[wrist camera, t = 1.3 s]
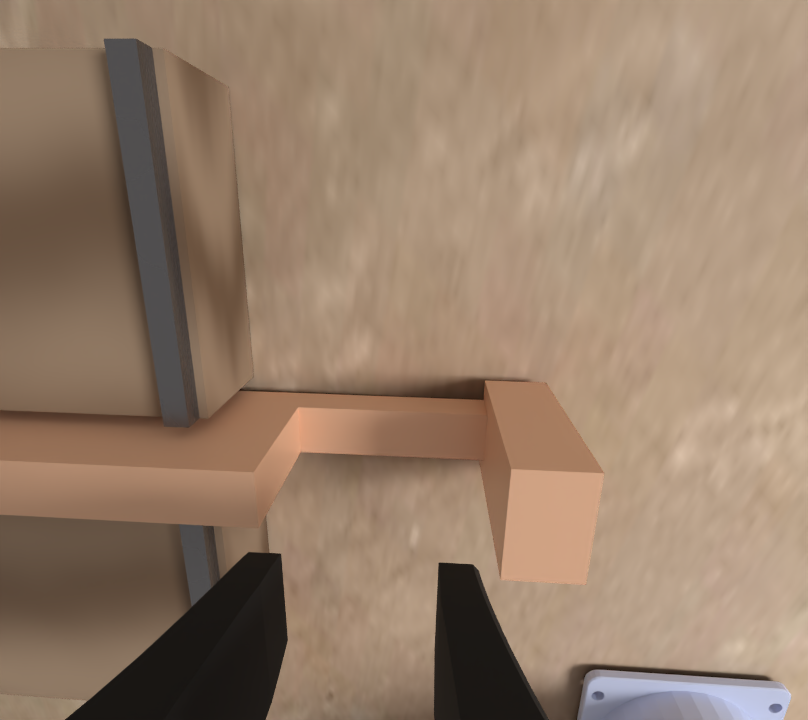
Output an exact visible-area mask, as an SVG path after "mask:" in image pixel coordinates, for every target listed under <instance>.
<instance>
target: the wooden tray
mask: <svg viewBox="0 0 808 720" xmlns="http://www.w3.org/2000/svg"><path fill="white" fill-rule="evenodd" d="M104 44H105V48H0V410H11V411H35V412H59V413H83V414H108V415H132V416H156V417H162V418H163V425H164V427H184V428H189V427H191V426H192V425H193V424H194V423H195V422H196V421H197V420H198V419H199V418H205V419H209V418H210V417H211V416H212V415H213V414H214V413H215V412H216V411H217V410H218V409H219V408H220V407H221V406H223V405H224V404H225V403H226V402H227V401H228V400H229V399H230V398H231V397H232V396H233V395H234V394H235V393H236V392H238V391H239V390H240V389H241V388H242V387H243V386H244V385H245V384H246V383H247V382H248V381H249V380H250V379H252V378H253V377H254V373H253V362H252V350H251V339H250V327H249V316H248V305H247V293H246V282H245V270H244V259H243V247H242V236H241V224H240V213H239V201H238V190H237V178H236V167H235V155H234V144H233V132H232V121H231V109H230V98H229V87H228V86H226V85H225V84H223V83H221V82H220V81H218V80H216V79H214V78H213V77H211V76H209V75H208V74H206V73H204V72H203V71H201V70H199V69H198V68H196V67H194V66H193V65H191V64H189V63H188V62H186V61H184V60H182V59H181V58H179V57H177V56H176V55H174V54H172V53H171V52H169V51H167V50H166V49H164V48H151V47H150V46H148V45H146V44H144V43H143V42H141V41H139V40H137V39H104ZM248 552H259V553H269V545H268V534H267V523H266V516H265V518H264V520H263V522H262V524H261V525H260V527H259V528H241V527H222V526H204V525H185V524H166V523H147V522H129V521H110V520H91V519H73V518H54V517H35V516H16V515H0V694H7V695H21V696H34V697H48V698H61V699H75V700H89V699H90V698H92V697H93V696H94V695H95V694H96V693H97V692H98V691H100V690H101V689H102V688H103V687H104V686H105V685H106V684H108V683H109V682H110V681H111V680H112V679H113V678H115V677H116V676H117V675H118V674H119V673H120V672H121V671H123V670H124V669H125V668H126V667H127V666H128V665H129V664H131V663H132V662H133V661H134V660H135V659H136V658H137V657H139V656H140V655H141V654H142V653H143V652H144V651H145V650H146V649H147V648H148V647H149V646H151V645H152V644H153V643H154V642H155V641H156V640H157V639H158V638H159V637H160V636H161V635H162V634H163V633H164V632H166V631H167V630H168V629H169V628H170V627H171V626H172V625H173V624H174V623H175V622H176V621H177V620H178V619H179V618H180V617H182V616H183V615H184V614H185V613H186V612H187V611H188V610H189V609H190V608H191V607H192V606H193V605H194V604H195V603H196V602H197V601H198V600H199V599H200V598H201V597H202V596H203V595H204V594H205V593H206V592H207V591H208V590H210V589H211V588H212V587H213V586H214V585H215V584H216V583H217V582H218V581H219V580H220V579H221V578H222V577H223V576H224V575H225V574H226V573H227V572H228V571H229V570H230V569H231V568H232V567H233V566H234V565H235V564H236V563H237V562H238V561H239V560H240V559H241V558H242V557H243V556H245V555H246V554H247V553H248Z"/></svg>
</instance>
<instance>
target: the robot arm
mask: <svg viewBox="0 0 808 720" xmlns="http://www.w3.org/2000/svg"><path fill="white" fill-rule="evenodd" d="M287 641H288V637H287V624H286V612H285V599H284V586H283V573H282V560H281V554H276V553H259V552H248V553H247V554H246V555H245V556H243V557H242V558H241V559H240V560H239V561H238V562H237V563H236V564H235V565H234V566H233V567H232V568H231V569H230V570H229V571H228V572H227V573H226V574H225V575H224V576H223V577H222V578H221V579H220V580H219V581H218V582H217V583H216V584H215V585H214V586H213V587H212V588H211V589H210V590H208V591H207V592H206V593H205V594H204V595H203V596H202V597H201V598H200V599H199V600H198V601H197V602H196V603H195V604H194V605H193V606H192V607H191V608H190V609H189V610H188V611H187V612H186V613H185V614H184V615H183V616H182V617H180V618H179V619H178V620H177V621H176V622H175V623H174V624H173V625H172V626H171V627H170V628H169V629H168V630H167V631H166V632H164V633H163V634H162V635H161V636H160V637H159V638H158V639H157V640H156V641H155V642H154V643H153V644H152V645H151V646H149V647H148V648H147V649H146V650H145V651H144V652H143V653H142V654H141V655H140V656H139V657H137V658H136V659H135V660H134V661H133V662H132V663H131V664H129V665H128V666H127V667H126V668H125V669H124V670H123V671H121V672H120V673H119V674H118V675H117V676H116V677H115V678H113V679H112V680H111V681H110V682H109V683H108V684H106V685H105V686H104V687H103V688H102V689H101V690H100V691H98V692H97V693H96V694H95V695H94V696H93V697H92V698H90V699H89V700H88V701H87V702H86V703H85V704H83V705H82V706H81V707H80V708H79V709H77V710H76V711H75V712H74V713H73V714H71V715H70V716H69V717H68V718H66V719H65V720H266V717H267V714H268V711H269V708H270V705H271V703H272V699H273V695H274V692H275V688H276V684H277V680H278V677H279V673H280V669H281V665H282V661H283V657H284V653H285V649H286V645H287ZM790 700H791V694H790V693H789V691H788V690H787V688H786V687H785V686H784V685H783V684H782V683H780V682H775V681H763V680H748V679H733V678H718V677H703V676H688V675H673V674H658V673H643V672H628V671H613V670H592V671H590V672H588V673H587V674H586V676H585V678H584V684H583V689H582V695H581V700H580V706H579V712H578V717H577V720H783V719H784V716H785V713H786V711H787V708H788V705H789V702H790ZM434 719H435V720H549V719H548V718H547V716H546V714H545V712H544V711H543V709H542V707H541V705H540V703H539V701H538V700H537V698H536V696H535V694H534V692H533V690H532V689H531V687H530V685H529V683H528V681H527V679H526V677H525V675H524V673H523V671H522V669H521V667H520V665H519V663H518V661H517V659H516V658H515V656H514V654H513V652H512V650H511V648H510V646H509V644H508V641H507V639H506V637H505V635H504V633H503V631H502V629H501V626H500V624H499V622H498V620H497V618H496V615H495V613H494V611H493V608H492V606H491V604H490V601H489V599H488V596H487V594H486V591H485V588H484V586H483V583H482V580H481V577H480V574H479V570H478V569H477V568H476V567H475V566H474V565H472V564H455V563H439V569H438V590H437V611H436V632H435V671H434Z"/></svg>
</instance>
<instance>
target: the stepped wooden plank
mask: <svg viewBox="0 0 808 720" xmlns="http://www.w3.org/2000/svg"><path fill="white" fill-rule="evenodd" d="M300 452H310V453H333V454H355V455H378V456H400V457H422V458H445V459H467V460H479V463H480V468H481V474H482V479H483V485H484V491H485V496H486V502H487V507H488V513H489V518H490V524H491V530H492V535H493V541H494V546H495V552H496V557H497V563H498V568H499V574H500V580H512V581H529V582H546V583H564V584H581V585H586V581H587V575H588V569H589V563H590V557H591V551H592V545H593V539H594V533H595V527H596V521H597V515H598V509H599V503H600V497H601V491H602V485H603V479H604V472H603V470H602V469H601V467H600V466H599V464H598V463H597V461H596V459H595V458H594V456H593V455H592V453H591V452H590V450H589V449H588V447H587V446H586V444H585V442H584V441H583V439H582V438H581V436H580V435H579V433H578V432H577V430H576V428H575V427H574V425H573V424H572V422H571V421H570V419H569V418H568V416H567V414H566V413H565V411H564V410H563V408H562V407H561V405H560V404H559V402H558V401H557V399H556V397H555V396H554V394H553V393H552V391H551V390H550V388H549V387H548V385H547V383H540V382H512V381H485V387H484V400H470V399H443V398H417V397H390V396H364V395H337V394H311V393H285V392H258V391H238V392H236V393H235V394H234V395H233V396H232V397H231V398H230V399H229V400H228V401H227V402H226V403H225V404H224V405H223V406H221V407H220V408H219V409H218V410H217V411H216V412H215V413H214V414H213V415H212V416H211V417H210V418H209V419H205V418H199V419H198V420H197V421H196V422H195V423H194V424H193V425H192V426H191V427H189V428H184V427H164V425H163V418H162V417H156V416H132V415H108V414H83V413H59V412H35V411H11V410H0V515H16V516H35V517H54V518H73V519H91V520H110V521H129V522H147V523H166V524H185V525H204V526H222V527H241V528H259V527H260V525H261V524H262V522H263V520H264V518H265V516H266V514H267V513H268V511H269V509H270V507H271V505H272V503H273V502H274V500H275V498H276V496H277V494H278V492H279V491H280V489H281V487H282V485H283V483H284V482H285V480H286V478H287V476H288V474H289V472H290V471H291V469H292V467H293V465H294V463H295V461H296V460H297V458H298V456H299V454H300Z"/></svg>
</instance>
